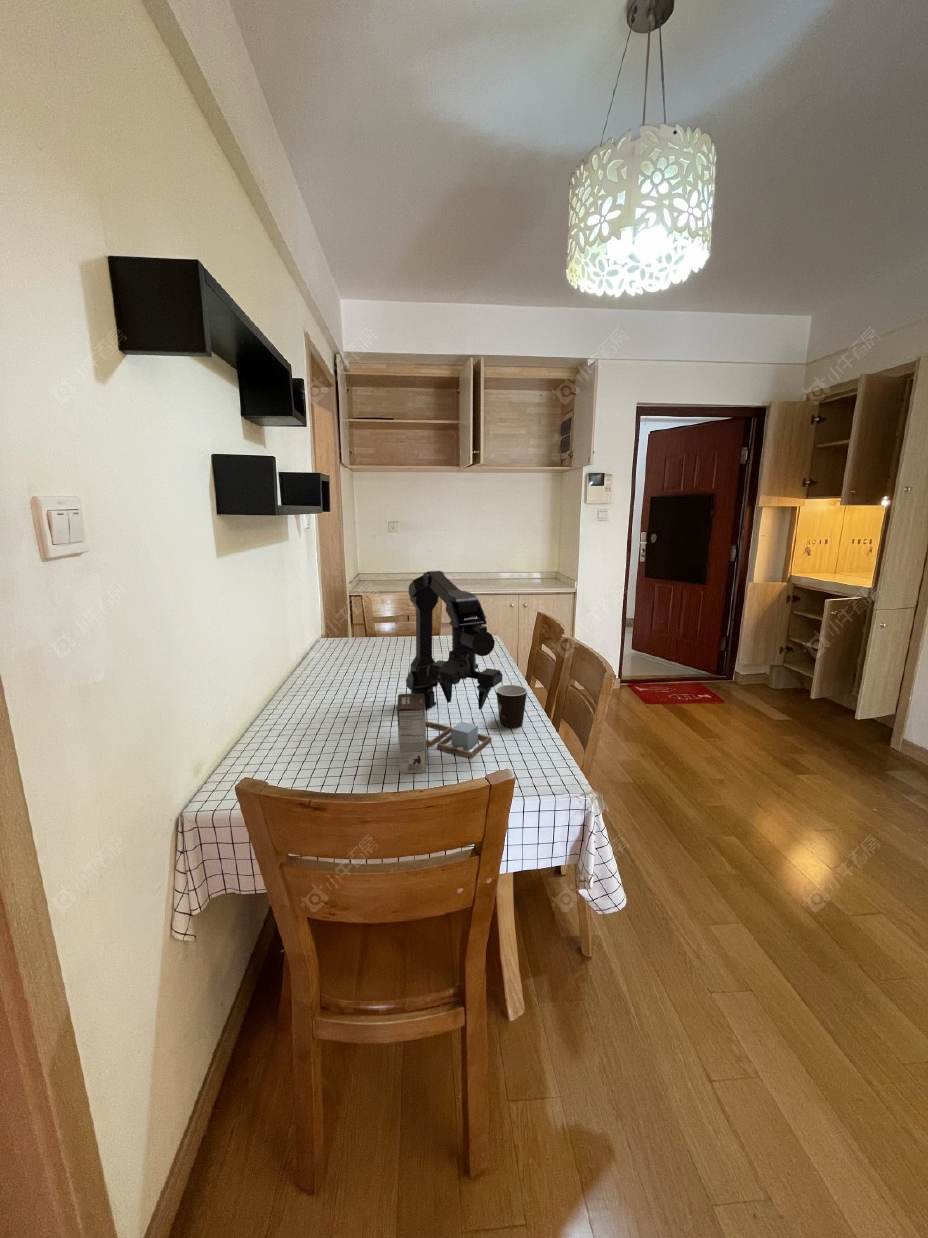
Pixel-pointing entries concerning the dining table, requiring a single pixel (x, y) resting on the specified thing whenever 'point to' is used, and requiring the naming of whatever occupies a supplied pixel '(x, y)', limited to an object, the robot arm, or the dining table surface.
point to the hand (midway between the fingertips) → (464, 705)
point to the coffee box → (412, 733)
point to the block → (464, 735)
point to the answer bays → (450, 747)
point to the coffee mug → (511, 705)
